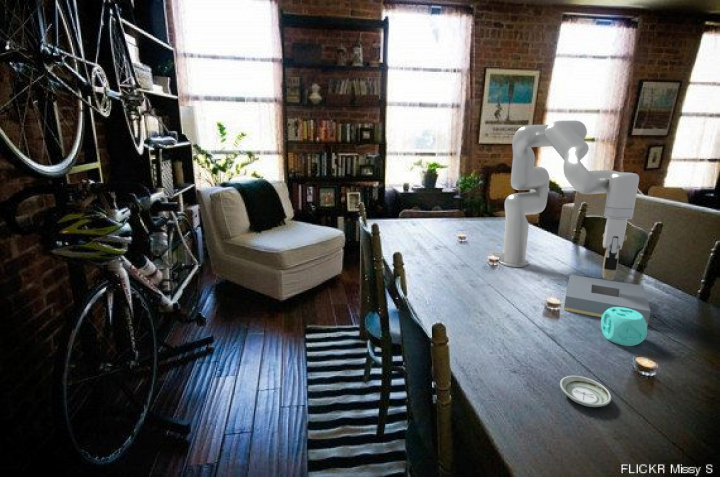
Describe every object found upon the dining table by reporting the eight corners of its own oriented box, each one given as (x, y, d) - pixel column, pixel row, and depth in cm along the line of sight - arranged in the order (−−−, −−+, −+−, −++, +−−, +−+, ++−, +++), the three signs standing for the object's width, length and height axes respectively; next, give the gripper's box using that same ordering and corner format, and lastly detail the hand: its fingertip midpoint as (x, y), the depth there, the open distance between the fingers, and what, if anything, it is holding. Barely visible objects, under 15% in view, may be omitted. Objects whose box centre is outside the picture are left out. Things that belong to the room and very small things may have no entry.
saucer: (561, 407, 79) (563, 398, 78) (556, 380, 87) (557, 371, 87) (615, 419, 75) (617, 408, 75) (603, 389, 84) (605, 380, 83)
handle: (621, 282, 119) (629, 237, 115) (598, 280, 121) (605, 236, 117) (616, 277, 123) (624, 233, 119) (594, 275, 125) (601, 232, 121)
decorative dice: (644, 347, 99) (650, 320, 97) (611, 345, 101) (616, 318, 99) (629, 332, 107) (633, 307, 105) (598, 330, 108) (603, 305, 106)
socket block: (563, 309, 121) (565, 295, 120) (568, 287, 139) (570, 274, 138) (647, 326, 110) (650, 311, 109) (640, 299, 128) (643, 285, 127)
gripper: (604, 207, 125) (596, 258, 130) (604, 216, 111) (596, 273, 116) (631, 208, 121) (622, 261, 126) (635, 218, 108) (625, 277, 112)
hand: (609, 266), depth 121 cm, fingers closed on handle, 3 cm apart
